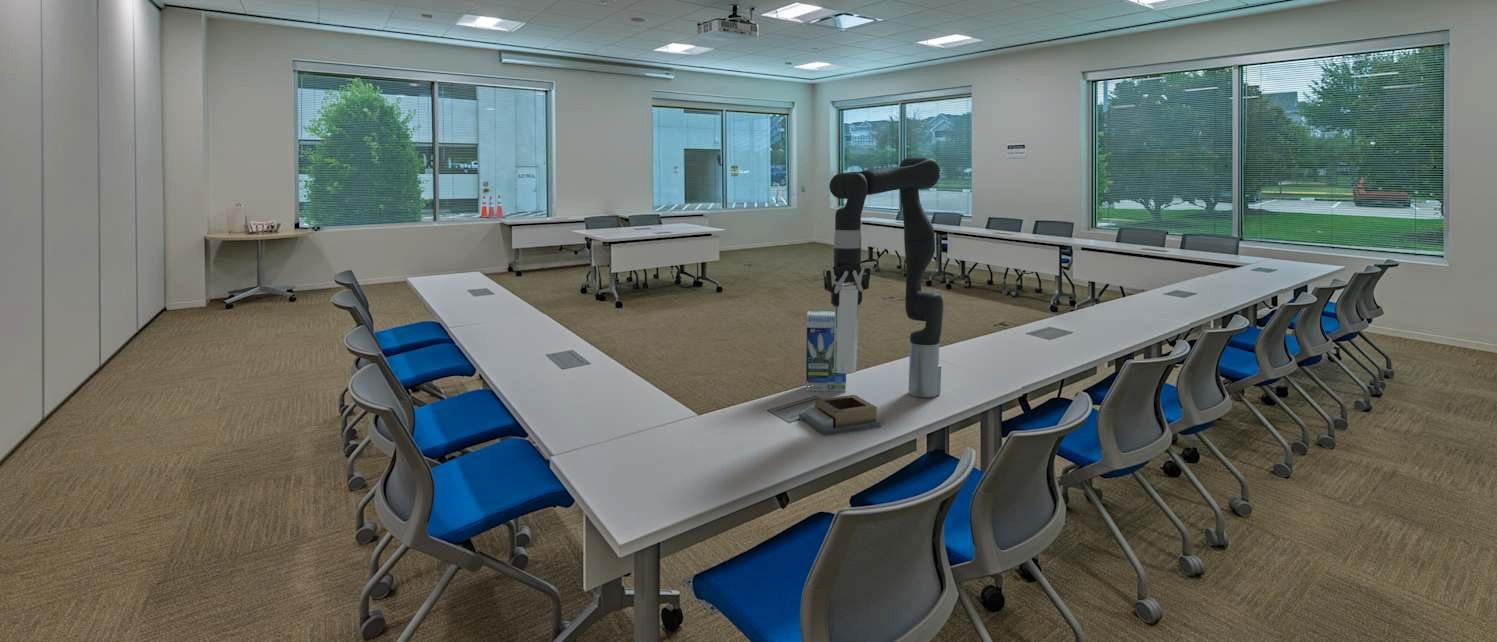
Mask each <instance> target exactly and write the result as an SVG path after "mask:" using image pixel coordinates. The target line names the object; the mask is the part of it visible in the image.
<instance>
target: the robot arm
mask: <svg viewBox="0 0 1497 642" xmlns="http://www.w3.org/2000/svg"><path fill="white" fill-rule="evenodd" d="M940 170H941V169H940V166H939V163H938V162H937V160H935V159H932V158H930V157H906V158H904V159H902V161H900V164H899V166H891V167H889V166H887V167H877V168H870V169H866V170H862V171H850V172H840V173H839V172H838V173H837V174H835V175H834V176H833V177H832V178H831V179H830V181H829V191H830V194H831V195H832V196H833V197H834V198H836V199H841V200H846V203H845V206H844V207H841V208H838V209H836V211H835V216H834V221H835V222H834V224H835V225H834V236H833V267H832V269H831V268H830V269H823V272H822V273H823V274H822V275H823V285H824V290H825V291H826V292H830V295H831V296H830V297H831V298H830V303H831V305H832V307H834V308H835V307H838V302H839V294H838V291H839V289H840V287H841V286H842V284H848V283H850V284H853V285H856V289H857V288H858V306H860V305H861V303H862V301H863V291H865V290H868V289H869V287H870V278H871V273H872V272H871V268H870V267H867V266H866V267H865V266H864V267H862V266H861V262H862V232H861V227H862V225H861V224H862V221H861V220H862V213H863V209H864V205H865V202H866V198H867V196H872V195H878V194H882V193H886V192H891V191H897V190H899V193H900V200H901V207H902V218H903V236H904V237H903V241H904V255H905V256H904V257H905V273H906V275H905V277H906V278H905V303H904V305H905V313H906V316H907V317H908V319H910V320H913V321H917V322H925V324H924V328H922V329H920V330H919V329H918V330H914V331H912V332H911V333H910V336H909V363H908V365H909V366H908V367H909V369H908V394H909V395H910V396H912V397H917V398H924V399H926V398H934V397H937V396H939V395H941V390H942V389H941V385H942V365H940V342H941V340H940V339H941V334H942V329H943V328H942V327H943V318H944V317H943V316H944V300H943V297H942V296H941V295H940V293H934V292H926V291H922V281H923V280H922V279H923V275H924V273H925V271H926V269H927V268H928V266H929V264H931V261H932V259H933V258H934V256H935V252H936V238H935V237H936V234H935V229H934V227H933V224H932V222H931V220H930V218H929V217H928V215H927V214H926V212H925V210H924V208H923V206H922V203H921V200H920V193H919V192H920V191H919V190H927V189H931V188H933V187H935V186H936V184H938V182H939V179H940V174H941V171H940ZM860 274H861V280H860V277H859V276H860ZM833 275H834V276H835V277H834V279H833V281H832V277H833Z"/></svg>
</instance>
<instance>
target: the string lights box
mask: <svg viewBox="0 0 1497 642" xmlns="http://www.w3.org/2000/svg"><path fill="white" fill-rule="evenodd" d="M806 312H807V313H806V317H807V318H806V352H805V353H806V361H805V362H806V363H805V364H806V365H805V366H806V369H805V371H806V374H805V375H806V376H805V377H806V378H805V381H806V384H805V385H806V387H807V388H805V389H808V390H806V392H828V391H830V392H832V393H833V392H835V393H836V392H837V393H838V392H839V393H846V391H847V374H841V373H836V372H835V371H834V335H835V311H827V310H826V311H824V310H823V311H809V310H808V311H806ZM812 385H813V386H812ZM808 386H810V387H808ZM830 392H829V393H830Z"/></svg>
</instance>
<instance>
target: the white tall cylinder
mask: <svg viewBox="0 0 1497 642" xmlns="http://www.w3.org/2000/svg"><path fill="white" fill-rule="evenodd" d="M838 294H839V302H838V307H835V306H834V312H835V335H834V371H835V372H836V373H841V374H846V375H849V374H851V375H852V374H856V373H857V371H858V369H857V368H858V333H859V332H858V331H859V329H858V328H859V327H858V323H859V305H858V288H857V289H856V285H853V284H852V283H843V284H842V286H841V287H840V289H839V291H838Z"/></svg>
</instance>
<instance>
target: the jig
mask: <svg viewBox="0 0 1497 642" xmlns="http://www.w3.org/2000/svg"><path fill="white" fill-rule="evenodd" d="M877 410H878V409H877V406H876V405H874V404H872V403H870V402H868V401H867V400H865V399H863V398H862V397H859V396H857V395H856V394H848V395H841V396H835V397H834V396H833V397H826V398H819V399H818V398H817V399H815V400H814V406H812V407H805V408H804V412H799V414H798V419H800V420H801V421H802V422H804V423H805V424H807V425H808V426H809V427H811V428H812V429H813V430H815V431H816V432H818V433H819V434H821V435H822V436H828V435H835V434H836V435H837V434H843V433H849V431H850V432H855V430H856V431H861V430H862V429H863V430H868V429H867V428H870V429H874V428H873V427H876V428H881V427H882V425H881V421H880V420H878V419H877ZM880 426H881V427H880ZM863 430H862V431H863Z"/></svg>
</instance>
